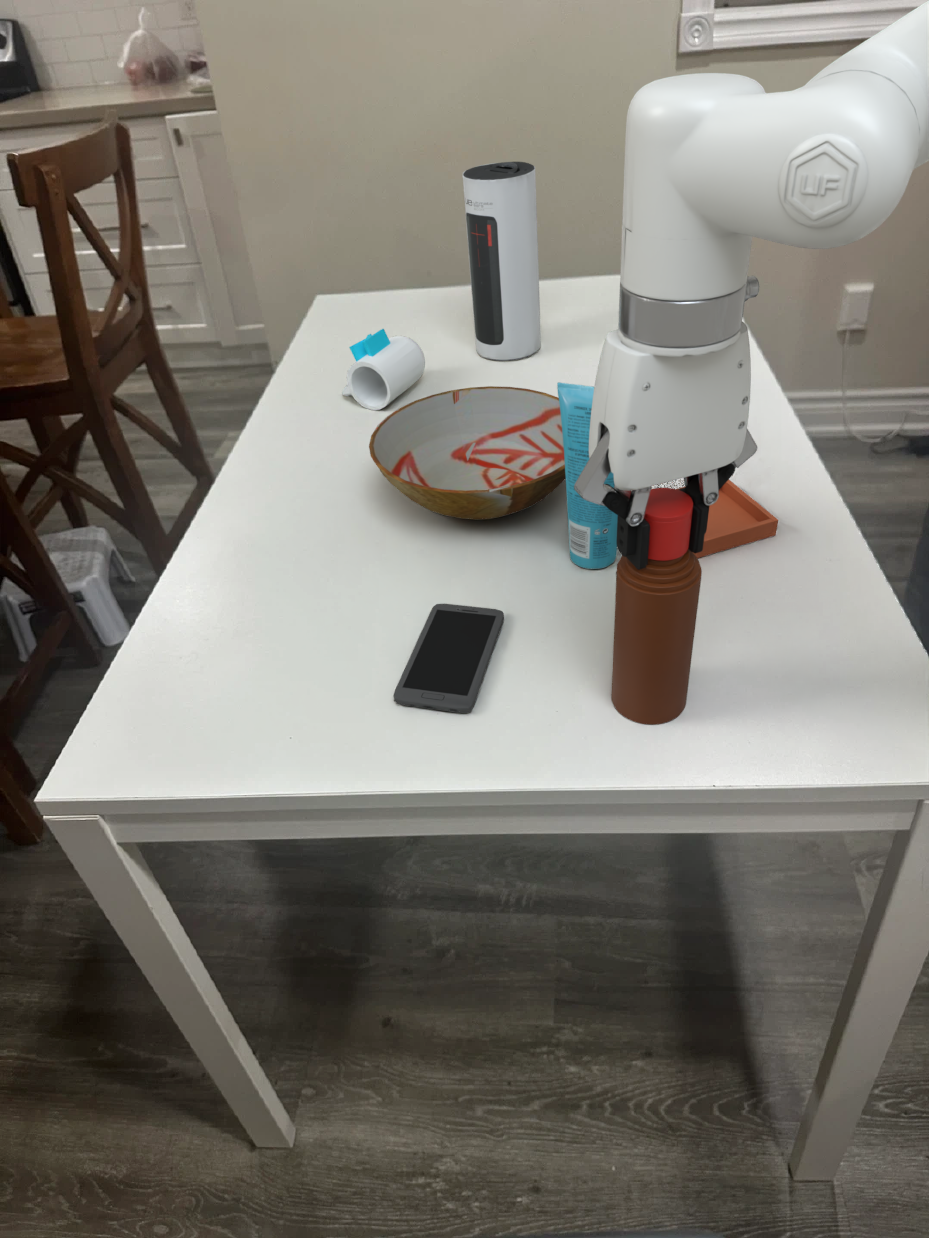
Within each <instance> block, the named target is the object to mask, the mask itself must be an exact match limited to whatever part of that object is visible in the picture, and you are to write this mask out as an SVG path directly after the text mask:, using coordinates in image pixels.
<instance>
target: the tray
mask: <svg viewBox="0 0 929 1238" xmlns="http://www.w3.org/2000/svg"><path fill="white" fill-rule="evenodd" d="M681 488H685V486H681V487H678V488H676V489H677V490H678V489H681ZM778 525H779V519H778V518H777V517H776V516H775V515H773V513H771V512H770V511H769V510H767V509H766V508H765V507H764V506H762V505H761V504H760V503H759V502H757V501H756V500H755V499H754V498H753V497H751V496H750V495H749V494H748V493H747V492H745V491H744V490H743V489H741V487H739V486H738V485H737V484H735V483H734V482H733V481H732V480H731V479H729V480H728V481H727V482H726V483H725V484H724V485H723V486H722V487H721V489H720V490H719V497H718V500H717V501H716V502H715V503H714V504H713V505H710V506H709V514H708V523H707V531H706V533H705V535H704V544H703V551H702V552H698V553H694V555H695V556H696V557H697V559H700V558H703V557H707V556H710V555H714V554H717V553H720V552H723V551H728V550H730V549H735V548H737V547H741V546H744V545H748V544H751V543H754V542H759V541H760V540H761V541H762V540H765V539H769V538H771V537H772V538H773V537H775V536H776V535H777V532H778V531H777V530H778V527H779V526H778ZM692 553H693V552H692Z"/></svg>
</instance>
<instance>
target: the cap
mask: <svg viewBox="0 0 929 1238" xmlns="http://www.w3.org/2000/svg"><path fill="white" fill-rule="evenodd" d="M677 489H678V488H674V487H673V488H672V487H654V488H651V491H650V495H649V499H648V503H647V507H646V511H645V515H644V519H645V520H646V521H647V522H648V523H649V524H650V538H649V552H648V559H652V560H658V561H668V560H673V559H676V558H679V557H681V556H683V555H684V554H685V553H686V552H687V550H688V548H689V539H690V529H691V520H692V511H693V501H692V499H691V497H690V496H689V495H688V494H686V493H685V492H682V491H680V490H677Z"/></svg>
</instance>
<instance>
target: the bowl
mask: <svg viewBox="0 0 929 1238" xmlns="http://www.w3.org/2000/svg"><path fill="white" fill-rule="evenodd" d="M368 450H369V454H370V458H371V459H372V461H373V462H374V464H375V465H376V468H378V470H379V471H380V472H381V473H382V475H383V477H384V478H386V480H387V481H388V482H389V483H390V484H391V486H393V487H394V488H395V489H397V490H398V491H399V492H400V493H401V494H403V496H405V497H406V498H407V499H408V500H410V501H412V502H413V503H415V504H417V505H419V506H420V507H422V508H425V509H426V510H428V511H430V512H433V513H435V514H438V515H442V516H445V517H446V516H447V517H450V518H451V517H452V518H456V519H463V520H477V521H479V520H491V519H497V518H502V517H506V516H509V515H512V514H516V513H518V512H522V511H523V510H526V509H528V508H530V507H533V506H535V505H536V504H537V503H540V502H541V501H543V500H544V499H546V498H547V497H548V496H549V495H551V494H552V493H553V492H554V491H555V490H556V489H557V488H558V487H560V485H562V484H563V483H564V481H566V475H565V460H564V446H563V433H562V423H561V412H560V404H559V397H558V396H555V395H553V394H550V393H547V392H543V391H539V390H534V389H530V388H522V387H514V386H491V385H490V386H489V385H488V386H473V387H465V388H459V389H451V390H446V391H443V392H439V393H434V394H431V395H427V396H425V397H422V398H419V399H416V400H413V401H411V402H410V403H407V404H405V405H403V406H400V407H399V408H398V409H396V410H394V411H393V412H391V413H390V414H388V415H386V417H385V418H384V419H383V420H382V421H381V422H380V423H379V424H377V426H376V428H375V429H374V431H373V432H372V433H371V436H370V439H369V444H368Z"/></svg>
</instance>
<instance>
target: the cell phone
mask: <svg viewBox="0 0 929 1238" xmlns="http://www.w3.org/2000/svg"><path fill="white" fill-rule="evenodd" d="M504 620H505V613H504V611H503V610H501V609H498V608H489V607H480V606H473V605H472V606H470V605H461V604H453V603H436V604H435V605H433V606H432V607H431V610H430V612H429V614H428V615H427V618H426V621H425V623H424V625H423V627H422V630H421V632H420V633H419V635H418V638H417V640H416V642H415V645H414V647H413V649H412V651H411V654H410V656H409V659H408V661H407V663H406V664H405V667H404V670H403V672H402V674H401V676H400V679H399V680H398V683H397V685H396V687H395V689H394V693H393V701H394V703H396V704H398V705H401V706H405V707H407V706H408V707H414V708H422V709H429V710H434V711H435V710H436V711H443V712H451V713H456V714H457V713H458V714H469V713H471V712H472V710H473V709H474V708H475V705H476V702H477V698H478V696H479V693H480V690H481V687H482V684H483V682H484V679H485V675H486V673H487V670H488V667H489V665H490V662H491V658H492V656H493V653H494V650H495V647H496V644H497V641H498V638H499V635H500V633H501V630H502V627H503V625H504Z"/></svg>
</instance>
